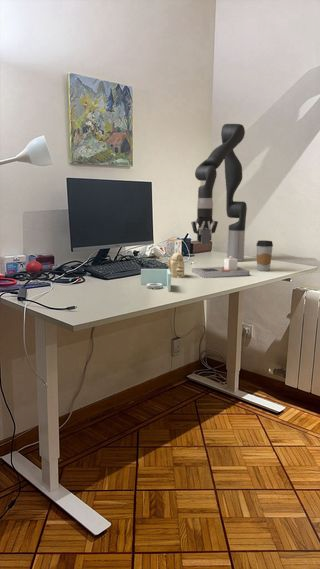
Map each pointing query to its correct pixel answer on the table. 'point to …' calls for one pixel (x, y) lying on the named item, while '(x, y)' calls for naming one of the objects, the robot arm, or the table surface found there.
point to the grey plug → (205, 236)
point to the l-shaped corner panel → (156, 278)
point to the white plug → (230, 263)
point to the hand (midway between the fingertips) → (204, 241)
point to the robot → (176, 265)
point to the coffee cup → (264, 255)
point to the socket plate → (220, 272)
